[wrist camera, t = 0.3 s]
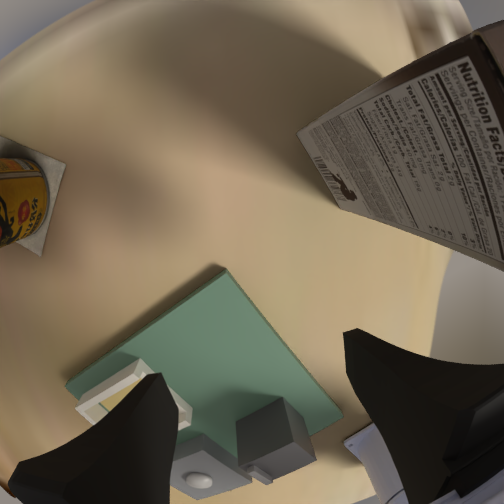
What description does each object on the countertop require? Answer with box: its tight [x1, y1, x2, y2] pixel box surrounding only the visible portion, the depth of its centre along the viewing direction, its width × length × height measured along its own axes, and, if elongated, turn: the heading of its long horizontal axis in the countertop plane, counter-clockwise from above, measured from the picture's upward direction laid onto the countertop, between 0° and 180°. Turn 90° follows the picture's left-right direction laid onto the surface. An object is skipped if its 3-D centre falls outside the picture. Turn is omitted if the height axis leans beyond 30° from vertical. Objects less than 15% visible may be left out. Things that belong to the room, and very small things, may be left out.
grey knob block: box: [170, 434, 252, 500], centre depth 22 cm, size 7×7×2 cm
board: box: [65, 269, 344, 458], centre depth 21 cm, size 17×18×3 cm
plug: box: [236, 397, 317, 485], centre depth 20 cm, size 3×5×6 cm
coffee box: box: [296, 20, 504, 271], centre depth 11 cm, size 9×6×16 cm
